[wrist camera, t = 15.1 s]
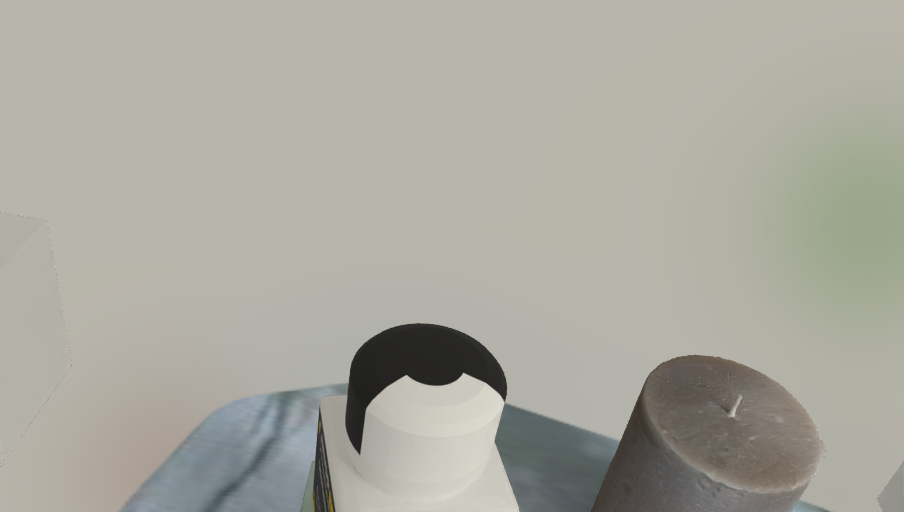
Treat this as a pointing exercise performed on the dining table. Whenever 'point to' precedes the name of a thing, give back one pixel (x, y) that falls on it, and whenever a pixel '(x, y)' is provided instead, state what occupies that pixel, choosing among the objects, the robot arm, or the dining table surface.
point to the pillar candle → (712, 443)
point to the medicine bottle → (414, 428)
